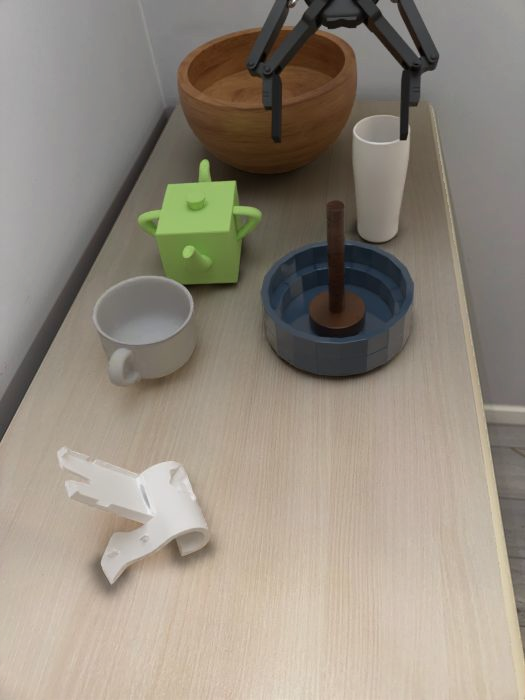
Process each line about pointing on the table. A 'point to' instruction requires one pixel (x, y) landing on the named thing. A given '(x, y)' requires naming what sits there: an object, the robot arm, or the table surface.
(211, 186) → the teapot
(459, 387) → the table surface
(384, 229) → the drinking glass
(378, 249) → the mixing bowl
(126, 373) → the teacup
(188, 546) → the plastic part
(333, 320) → the wooden stand
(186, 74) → the bowl
